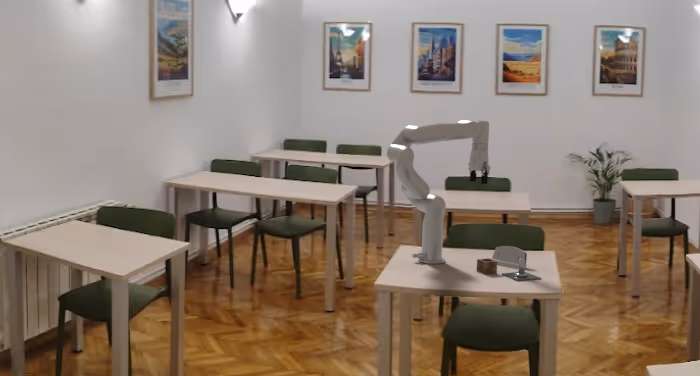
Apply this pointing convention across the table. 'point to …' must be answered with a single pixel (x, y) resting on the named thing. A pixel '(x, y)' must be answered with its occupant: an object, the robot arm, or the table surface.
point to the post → (521, 273)
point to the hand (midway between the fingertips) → (478, 182)
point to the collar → (486, 266)
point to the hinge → (509, 256)
